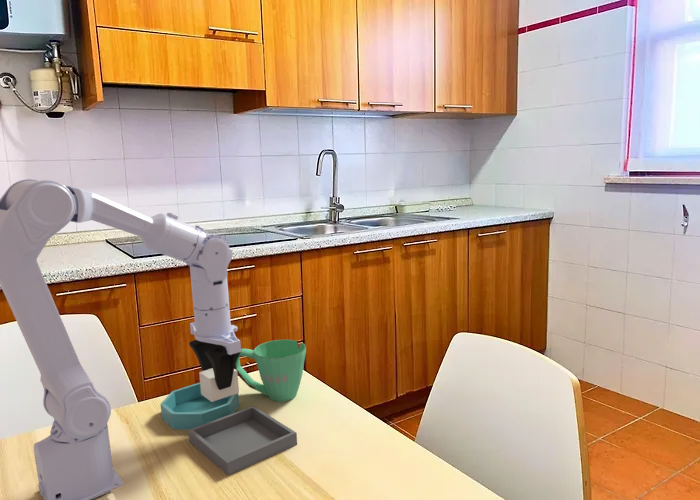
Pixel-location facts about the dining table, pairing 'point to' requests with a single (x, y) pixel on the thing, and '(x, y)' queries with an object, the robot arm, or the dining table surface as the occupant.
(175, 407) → the bowl
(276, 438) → the parts tray
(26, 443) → the dining table surface
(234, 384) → the off-white smooth cube
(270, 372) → the mug
